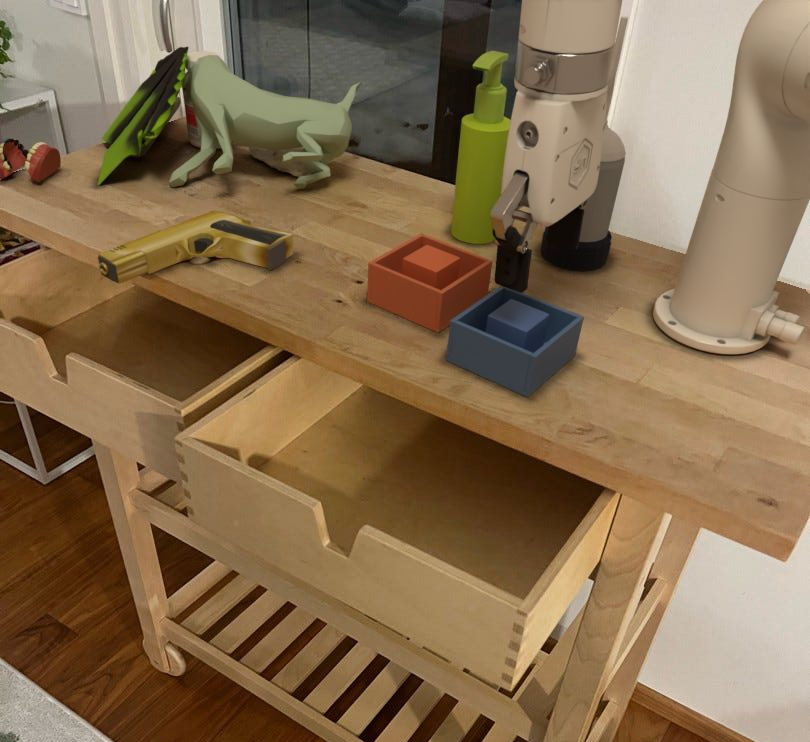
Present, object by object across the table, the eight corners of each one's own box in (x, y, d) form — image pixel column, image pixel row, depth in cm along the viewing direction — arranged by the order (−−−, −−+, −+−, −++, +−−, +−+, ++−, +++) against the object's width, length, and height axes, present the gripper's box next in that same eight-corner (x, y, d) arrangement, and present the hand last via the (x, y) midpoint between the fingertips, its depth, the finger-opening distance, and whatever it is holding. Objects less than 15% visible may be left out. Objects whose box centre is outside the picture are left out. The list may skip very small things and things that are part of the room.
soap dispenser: (439, 239, 101) (455, 56, 87) (462, 218, 105) (482, 41, 91) (482, 251, 99) (506, 67, 85) (505, 230, 104) (531, 52, 90)
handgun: (299, 236, 94) (228, 203, 99) (164, 294, 83) (92, 253, 88) (299, 257, 96) (230, 223, 101) (167, 316, 85) (97, 275, 90)
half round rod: (156, 106, 126) (163, 117, 128) (121, 150, 112) (130, 162, 113) (179, 93, 125) (186, 105, 126) (147, 136, 111) (155, 148, 112)
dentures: (37, 147, 102) (-21, 144, 103) (47, 183, 104) (-9, 179, 106) (61, 134, 106) (5, 132, 107) (70, 169, 109) (16, 166, 110)
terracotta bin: (487, 298, 91) (493, 260, 88) (438, 333, 86) (442, 293, 83) (418, 270, 95) (421, 232, 92) (367, 301, 90) (367, 262, 86)
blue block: (542, 353, 83) (549, 313, 80) (519, 371, 81) (526, 332, 78) (505, 337, 85) (511, 298, 82) (481, 355, 82) (487, 315, 79)
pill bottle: (238, 137, 120) (231, 51, 112) (225, 152, 116) (217, 65, 108) (196, 132, 121) (187, 47, 113) (182, 147, 116) (171, 59, 108)
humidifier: (607, 244, 103) (663, 12, 85) (606, 275, 97) (666, 33, 79) (542, 235, 103) (584, 3, 86) (537, 265, 98) (581, 23, 80)
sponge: (243, 151, 115) (254, 122, 114) (266, 163, 119) (277, 134, 118) (301, 183, 110) (313, 152, 109) (323, 194, 114) (335, 164, 113)
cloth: (165, 45, 115) (179, 59, 117) (75, 175, 116) (90, 187, 118) (214, 40, 100) (230, 57, 101) (110, 190, 101) (127, 204, 102)
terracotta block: (456, 295, 91) (460, 257, 87) (433, 310, 88) (436, 272, 85) (423, 282, 92) (426, 244, 89) (400, 296, 90) (402, 258, 87)
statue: (373, 204, 116) (349, 70, 117) (379, 150, 103) (351, 2, 105) (180, 227, 113) (159, 90, 115) (161, 176, 100) (137, 22, 102)
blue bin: (575, 356, 84) (584, 316, 81) (527, 397, 79) (535, 357, 75) (496, 323, 88) (502, 284, 85) (445, 360, 82) (450, 320, 79)
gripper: (551, 107, 59) (525, 318, 72) (652, 48, 69) (613, 242, 82) (464, 86, 62) (453, 291, 75) (572, 32, 72) (547, 222, 85)
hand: (537, 266), depth 78 cm, fingers open, 9 cm apart
